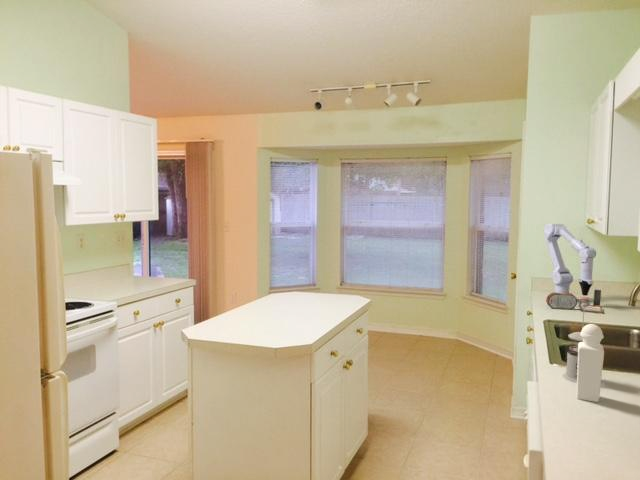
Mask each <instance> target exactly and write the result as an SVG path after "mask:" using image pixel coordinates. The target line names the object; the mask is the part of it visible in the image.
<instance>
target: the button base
mask: <svg viewBox="0 0 640 480" xmlns="http://www.w3.org/2000/svg"><path fill="white" fill-rule="evenodd" d="M582 303H586V304H587V305H588V306H591V301H590V299H588V302H587V301H581V299H580V298H578V307H579V308H580V305H581V304H582Z"/></svg>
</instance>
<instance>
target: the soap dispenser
mask: <svg viewBox="0 0 640 480" xmlns="http://www.w3.org/2000/svg"><path fill="white" fill-rule="evenodd" d="M580 332H581V333H580V335H581V337H582V339H583V342H580V341H578V344H577V346H578V354H577V356H578V367H577V383H576V398H577V399H578V400H583V401H588V402H594V403H599V402H600V394H601V393H600V392H601V387H602V386H601V384H602V377H603V368H604V367H603V366H604V359H605V358H604V357H605V351H604V346H603V344H601V341H602V340H603V339H604V334H603V331H602V328H601V326H599V325H597V324H595V323H588V324H586V325H583V329H582V328H581V331H580Z"/></svg>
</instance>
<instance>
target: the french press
mask: <svg viewBox="0 0 640 480" xmlns="http://www.w3.org/2000/svg"><path fill="white" fill-rule="evenodd" d="M581 306H582V307H587V306H588V305H587V304H586V303H582V304H581ZM584 318H585V312H584V310H583V314H582V322H584V320H585V319H584ZM583 327H584V325H582V327H581V330H582V329H583ZM580 333H581V331H575V332H572V333H570V334H568V335H567V336H568V338H569V339H570V340H572V341H575V342H576V341H577V342H583V339H582V337H581V335H580ZM568 349H569V350H568V351H567V353H566V354H567V356H566V359H567V360H566V363H567V364H566V369H565V370H566V371H565V373H564V374H562V377H563V379H565V380H567V381H569V382H570V383H571V382H572V383H576V384H577V367H578V345H572V346H571V345H570V346H569V348H568Z"/></svg>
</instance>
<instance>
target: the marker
mask: <svg viewBox="0 0 640 480" xmlns="http://www.w3.org/2000/svg"><path fill="white" fill-rule="evenodd" d="M593 290H594V291H593V292H594V293H593V305H592V307H601V299H602V298H601V297H602V290H601V289H593Z"/></svg>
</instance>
